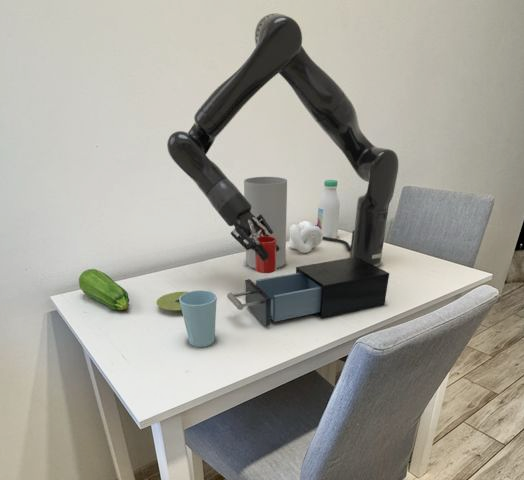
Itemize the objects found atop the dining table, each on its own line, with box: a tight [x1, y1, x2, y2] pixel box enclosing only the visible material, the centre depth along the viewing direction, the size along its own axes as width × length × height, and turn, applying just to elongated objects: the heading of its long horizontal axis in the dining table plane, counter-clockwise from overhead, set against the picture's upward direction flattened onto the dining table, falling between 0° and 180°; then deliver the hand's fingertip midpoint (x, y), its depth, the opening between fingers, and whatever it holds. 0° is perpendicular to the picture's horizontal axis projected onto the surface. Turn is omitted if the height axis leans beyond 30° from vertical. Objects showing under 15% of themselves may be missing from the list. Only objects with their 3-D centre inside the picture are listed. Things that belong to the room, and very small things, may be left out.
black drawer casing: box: [295, 257, 390, 320], centre depth 107 cm, size 19×14×9 cm
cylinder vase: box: [243, 176, 288, 269], centre depth 128 cm, size 12×12×25 cm
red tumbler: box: [254, 236, 277, 274], centre depth 108 cm, size 5×5×8 cm
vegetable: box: [78, 268, 130, 311], centre depth 108 cm, size 7×7×20 cm
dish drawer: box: [226, 272, 322, 327], centre depth 101 cm, size 23×12×7 cm, turn 114°
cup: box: [179, 289, 217, 348], centre depth 90 cm, size 8×8×10 cm
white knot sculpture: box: [288, 220, 323, 254], centre depth 143 cm, size 11×12×9 cm
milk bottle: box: [316, 179, 341, 239], centre depth 154 cm, size 8×8×20 cm
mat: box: [156, 291, 189, 311], centre depth 107 cm, size 11×11×2 cm
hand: (272, 254), depth 107 cm, fingers closed on red tumbler, 5 cm apart
